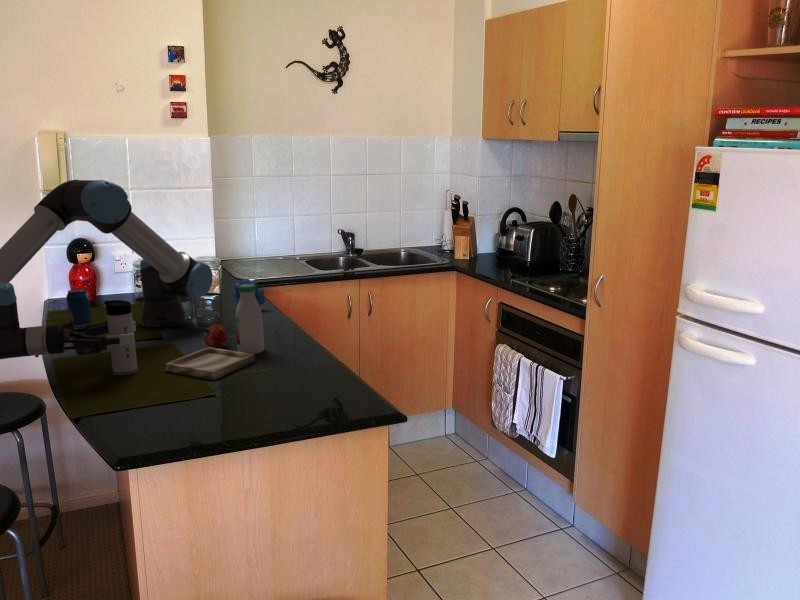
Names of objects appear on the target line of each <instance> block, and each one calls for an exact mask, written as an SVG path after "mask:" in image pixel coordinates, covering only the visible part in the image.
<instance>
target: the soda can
mask: <svg viewBox="0 0 800 600" xmlns="http://www.w3.org/2000/svg"><path fill="white" fill-rule="evenodd" d="M66 303H67V312H68V313H67V314H68V318H69V319H68V321H69V324H70V325H71V324H72V325H83V324H87V323H89V322H91V323H92V321H93V319H92V313H91V312H92V311H91V302H90V294H89V293H88V291H87V288H75V289H69V290H68V291H67V294H66ZM72 325H71V326H72Z"/></svg>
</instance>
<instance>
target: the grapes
mask: <svg viewBox="0 0 800 600" xmlns="http://www.w3.org/2000/svg"><path fill="white" fill-rule="evenodd" d="M243 284H253V285H255V297H256V300H257V302H258V304H259V306H260V308H261V309H262V306H261V305H264V304H265V303H266V298H265V297H264V295H265V291H264V289H263V288H261V287H258V283H257V282H256V281H254V280H251V281H250V282H249V280H248V279H246V278H243V279H241V280H240V283H239V282H235V283H234V284H233V288H234V289H235V290H234V291H232V293H231V294H232V297H233V298H234V299H236V306H238V303H239V300H240V293H239V286H240V285H243Z"/></svg>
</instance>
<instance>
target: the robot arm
mask: <svg viewBox="0 0 800 600" xmlns="http://www.w3.org/2000/svg"><path fill="white" fill-rule="evenodd" d="M128 199H129V196H128V193H127V192H126V190H125V189H124V188H123V187H122V186H121V185H119V184H118V183H116V182H113V181H110V180H109V181H108V180H105V179H98V180H97V179H96V180H95V179H93V180H92V179H86V180H85V179H70V180H67V181H65V182H62V183H60V184H59V185H57V186H56V187H54V188H53V189H52V190H50V192H48V193H46V195H45V196H44V197H43V198H42V199H40V201H39V202H37V204H36V205H35V206H34V207H33V212H34V213H33V214H32V215H31V216H30V217H29V218H28V219H27V220H26V221H25V222H24V223H23V224H22V225H20V226H21V227H19V228H18V229H17V230H16V232H14V233H13V235H12V236H11V237H10V238H9V239H7V241H6V242H5V243H4V244H3V245H2V246H1V247H0V360H4V359H5V360H6V359H13V358H22V357H23V358H24V357H32V356H34V357H35V358H39V357H40V356H43V355H44V356H45V355H47V354H50V355H56V354H63V353H65V352H66V350H98V351H99V350H101V351H107V350H108V347H110V346H118V345H128V344H134V339H135V337H134V338H133V333H130V334H119V335H109V331H108V322H107V320H105V321H104V322H103V321H102V322H97V323H90V324H89V325H85V326H80V327H74V326H72V327H69V330H67V331H65V330H64V329H65V328H64V326H63V325H62V324H53V325H47V326H44V325H38V326H27V327H26V326H25V327H20V321H19V320H20V319H19V313H18V301H17V295H16V292H15V287H14V284H13V283H11V281H12V280H13V279H14V278H15V277H16V276H17V275H18V274H19V273H20V271H22V269H24V267H25V266H26V265H27V264H28V263H29V262H30V261H31V260H32V259H33V257H34V256H35V255H36V254H37V253H38V252H39V251H40V250H41V249H42V248H43V247H44V246H45V245H46V243H48V242H49V240H51V238H52V237H53V236H54V235H55V234H56V233H57V232H58V231H60V232H62V231H64V230H65V229H66V228H67V226H68V225H70V224H71V223H74V222H77V221H80V222H87V223H89V224H91V225H92V226H93V227H94V228H96V229H97V230H98V231H99V232H101V233H103V234H109V235H110V234H112V235H113V236H114V237H115V238H117V239H118V240H119V241H121V242H122V244H124V245H125V246H127V247H128V248H129V249H130V250H132V252H134V253H135V254H136V255H137V256H139V257H140V258H141V260H140V264H139V265H140V268H139V269H140V270H139V272H140V280H141V289H142V297H143V298H142V299H143V303H142V308H141V315H140V316H139V324H140V323H141V324H142V325H144V326H150V327H162V328H171V327H175V326H180V325H182V324H184V323H186V322H187V313H186V311H185V310H184V307H183V304H182V303H181V299H180V297H187V298H191V299H195V298H196V299H198V298H202V297H204V296H206V295H207V294H208V292H210V290H211V288H212V284H213V280H214V279H213V276H214V275H213V270H212V268H211V266H209V265H208V264H207V263H205V262H203V261H201V262H200V261H196V259H194V258H193V257H191V256H190V254H188V253H186V252H185V251H177V250H176V249H175V248H174V247H173V246H171V245H170V244H169V243H168V242H167V241H166V240H165V239H164V238H163V237H161V236H160V235H159V234H158V233H157V232H156V231H154V230H153V229H152V228H151V227H150V226H149V225H148V224H146V223H145V222H144V221H143V220H142V219H141V218H140V217H138V216H137V215H136V214H135V213H134V212H133V211H132V210H133V207H132V204H131V203H130V200H128ZM133 330H134V332H136V331H137V329H136V321H134V320H133ZM106 334H108V335H106ZM101 335H105V336H101Z"/></svg>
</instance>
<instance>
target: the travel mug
mask: <svg viewBox="0 0 800 600" xmlns="http://www.w3.org/2000/svg"><path fill="white" fill-rule="evenodd" d="M103 305H105V309H106V321H107V322H108V331H109V333H108V335H119V334H130V333H133V338H134V344H128V345H118V346H109V347H110V357H111V367H112V373H113V374H112V375H114V376H116V375H127V376H131V375H130V374H132V375H134V374H136V373H138V369H139V368H138V361H137V352H136V341H135V331H134V330H133V321H134V320H133V313H132V312H133V311H132V304H131V302H130V301H128V300H122V299H113V300H109V299H108V300H107V299H106V300H105V301H104V302H103ZM133 373H134V374H133Z"/></svg>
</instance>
